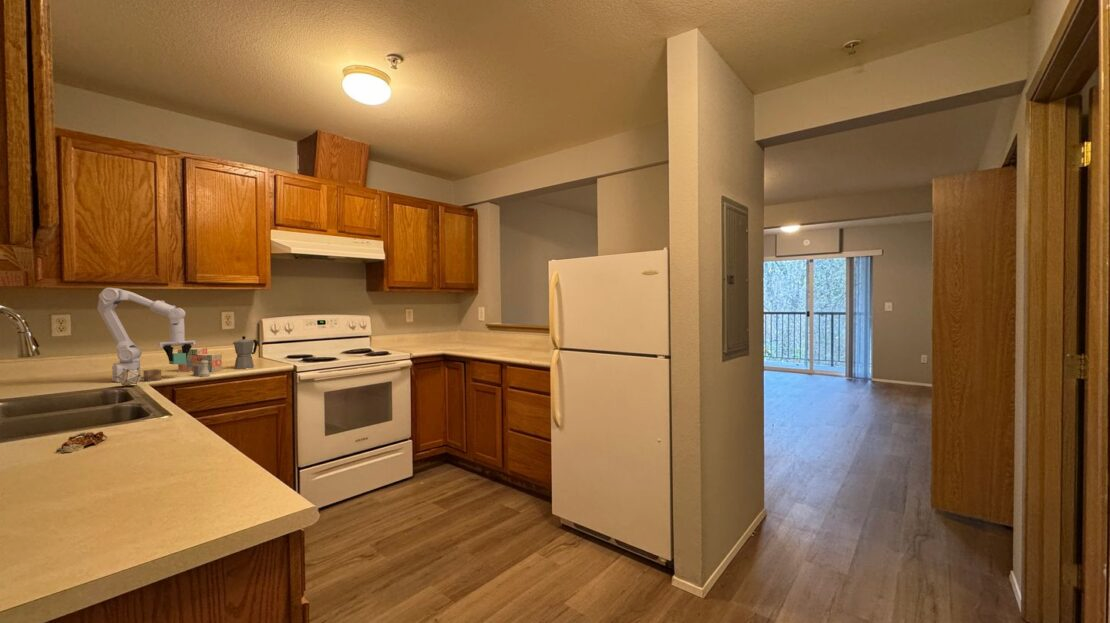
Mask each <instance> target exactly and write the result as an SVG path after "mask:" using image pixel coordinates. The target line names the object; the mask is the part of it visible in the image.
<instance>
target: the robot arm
mask: <svg viewBox="0 0 1110 623" xmlns="http://www.w3.org/2000/svg"><path fill="white" fill-rule="evenodd" d="M122 301H123V302H124V301H131V302H134V303H137V304H139V305H143V306H145V307H148V308H150V311H151V312H153V313H155V314H158V315H162V316H164V317H168V319H169V341H163V342H158V343H157V344H158V345H157V346H158V347H159V348H160V347H161V348H162V349H163V351H164V353H165V354H166V355H167V359H168V362H169V361H173V353H174V347H175V346H176V347H177V346H181V349H182V353H186V358H187V355H188V352H189V350H190V349H191V348H192V347H193V345H196V342H197V341H196V340H185V337H186V336H185V333H186V332H185V329H186V328H185V317H186V314H187V313H186V311H185V310H184V309H183V308H182V307H177V305H171V304H169V303H166V301H165V300H159V299H158V300H155V301H154V300H151V299H149V298H147V297H144V296H141V295H140V294H138V293H135V292H132V291H129V290H126V289H125V290H124V289H122V288H119V287H118V288H117V287H116V288H114V287H106V288H104V289H102V291H101V292H100V293H99V294H98V302H97V303H98V304H97V311H98V313H99V315H100V317H101V319H102V321H103V322H104V324H105V326H106V327H107V330H108V331H109V333H110V335H111V337H112V339H113V341H114V342H115V344H116V346H115V348H116V351H117V358H118V360H119V362H114V363H112V368H111V370H112V371H111V372H112V379H111V381H112V382H114V381H115V383H121V382H120V381H119V379H118V376H119V375H120V374H121V373H122V372H123V371H124V370H123V369H125V370H127V369H128V370H131V369H137V368H139V369H138V371H139V373H140V374H141V359H140V357H141V356H142V350H141V348H139V347H138V346H137V345H136V343H134V341H132V339H130V337H129V334H128V333H127V331H126V329H125V327H124V325H123V324H122V321H121V320H120V318H119V316H118V315H117V312H116V311H115V309H116V307H117V306H118V305H119V304H120V303H121V302H122ZM116 376H117V377H116ZM142 378H143V377H142ZM142 380H143V381H144V378H143V379H141V380H140V381H142Z"/></svg>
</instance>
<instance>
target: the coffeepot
mask: <svg viewBox="0 0 1110 623" xmlns="http://www.w3.org/2000/svg"><path fill="white" fill-rule="evenodd" d="M241 337H242V339H239V340H236V341H233V342H232V345H234V349H235V350H234V351H235V354H236V357H235V363H234V368H233V369H235V368H236V369H235V370H247V369H246V368H250V369H253V367H254V368H255V366H254V361H253V356H252V355H254V354H256V352H257V347H258V344H259V342H258V340H257V339H246V336H245V335H243V336H241Z"/></svg>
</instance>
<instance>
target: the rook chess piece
mask: <svg viewBox="0 0 1110 623" xmlns="http://www.w3.org/2000/svg"><path fill="white" fill-rule="evenodd" d="M200 363H201V364H202V365H201V366H202V368H201V372H200V373H199V374H200V376H199V378H207V377H211V372H209V371H208V365H207V364H208V360H206V361H205V360H204V361H203V360H202V361H201V362H200ZM209 374H210V375H209Z"/></svg>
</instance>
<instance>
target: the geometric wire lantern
mask: <svg viewBox="0 0 1110 623" xmlns="http://www.w3.org/2000/svg"><path fill="white" fill-rule="evenodd" d="M138 369H139V368H137V369H131V370H128V369H127V370H125V369H123V370H124V371H123V372H122V373H121V374H120V375H119V376H118V379H119V381H120V382H119V383H120V384H121V386H122V385H130V386H132V385H131V384H136V385H137V384H138V383H139V382H140V381H142V380H141V379H143V378H144V376H143V377H142V375H141V372H140V373H139V371H138ZM116 377H117V376H116ZM143 380H144V379H143Z"/></svg>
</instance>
